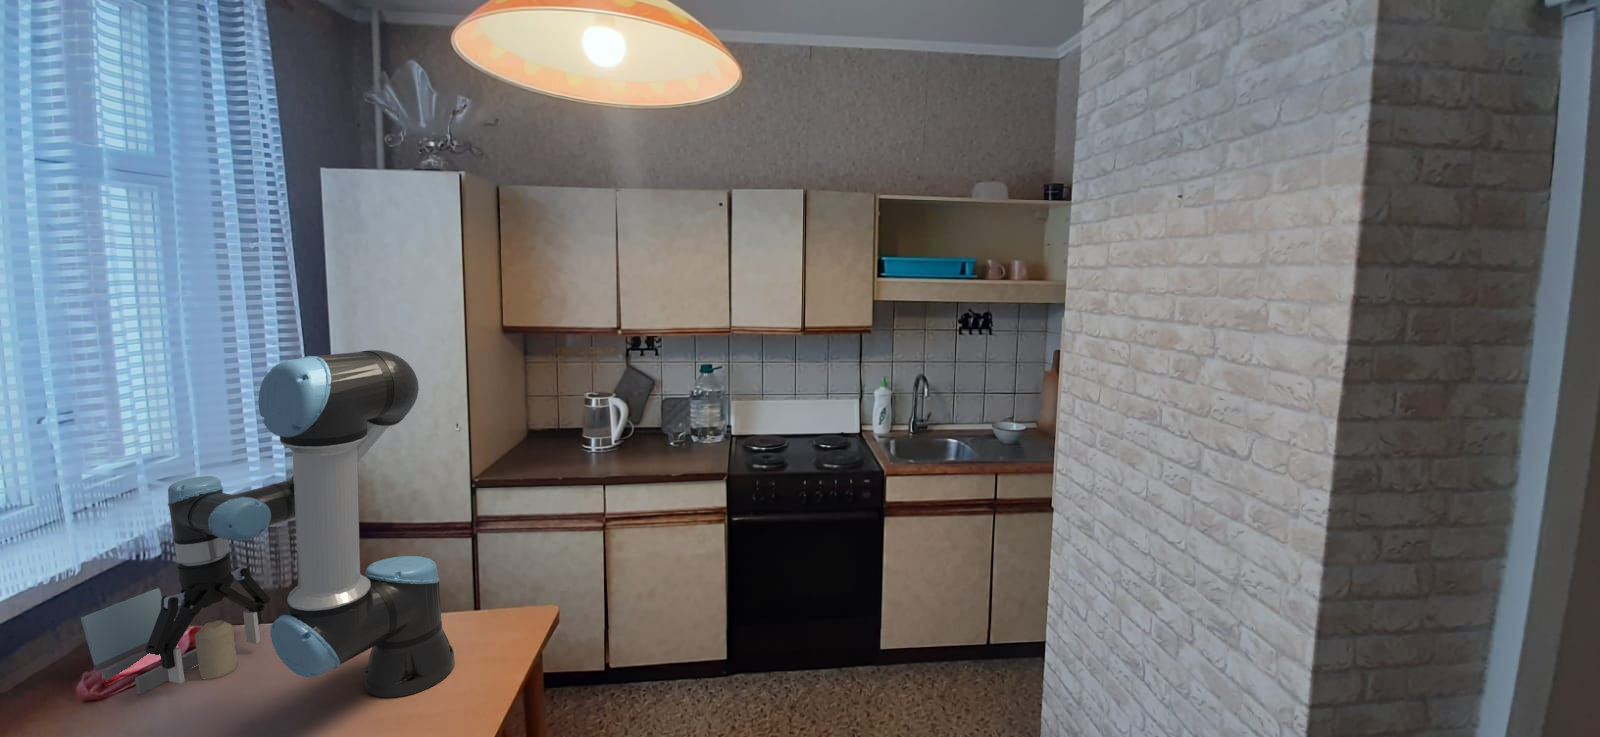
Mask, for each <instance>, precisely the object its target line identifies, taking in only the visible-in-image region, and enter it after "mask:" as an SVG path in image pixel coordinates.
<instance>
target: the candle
mask: <svg viewBox="0 0 1600 737" xmlns="http://www.w3.org/2000/svg"><path fill="white" fill-rule="evenodd" d="M194 640H195V649H197V657H198V664H199V665H198V669H199V670H198V672H199V677H200V676H201V677H200V678H201V679H202V678H205V679H204V680H213V679H212V678H215V679H218V678H217V677H219V678H222V677H224V675H225V676H227V675H229V674H230V673H232V672H234V671H235V670H236V669H237V667H238V658H237V651H236V650H237V649H236V644H235V635H234V627H233V625H232V624H231V623H229V622H227V621H225V620H221V619H220V620H218V619H217V620H215V621H212V622H206V623H205V624H204V625H203V626H202V627H201V628H200V629H199V630H198V631H197V632H196V633H195V635H194ZM221 676H222V677H221Z"/></svg>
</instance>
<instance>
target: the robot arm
mask: <svg viewBox="0 0 1600 737" xmlns="http://www.w3.org/2000/svg"><path fill="white" fill-rule="evenodd" d="M418 395H419V380H418V377H417V374H416V373H415V371H414V369H413V368H412V367H411V365H410V364H409V362H407V361H406V360H405V359H404V358H402V357H401V356H398V355H397V354H394V353H392V352H390V351H389V352H388V351H385V350H377V349H376V350H375V349H371V350H370V349H369V350H362V351H354V352H346V353H345V352H344V353H334V354H325V355H323V354H322V355H313V356H311V355H308V356H307V355H306V356H304V357H301V358H296V359H289V360H285V361H281V362H278V364H275V365H274V366H273V367H272V368H271V369H270V370H269V371H267V373H266V374H265V376H264V378H263V379H262V382H261V384H260V388H259V392H258V410H259V414H260V415H259V416H260V417H262V418H263V421H262V422H263V425H264V427H265V428H266V429H267V430H268V431H269V432H270V433H272V434H273V435H275V436H279V443H280V444H281V445H283V446H284V447H286V448H288V449H289V450H290V451H291V452H292V469H293V472H292V473H293V475H292V476H291V478H289V479H287V480H284V481H280V482H275V483H273V484H269V485H265V486H261V487H259V488H255V489H251V490H247V491H244V492H240V493H235V494H232V493H231V494H230V493H225V492H223V491H224V487H223V486H222V482H221V479H220V478H218V477H217V476H211V475H209V476H208V475H207V476H196V477H190V478H189V477H188V478H186V479H182V480H178V481H176V482H173V483H171V485H169V487H168V490H167V494H168V496H167V500H168V502H167V506H168V509H169V516H170V523H171V528H172V535H173V543H174V550H175V555H176V562H177V563H179V564H178V565H177V574H178V581H179V583H180V584H179V585H180V586H181V590H180V593H176V594H174V595H163V597H162V599H161V611H160V613H159V616H158V618H157V621H156V623H155V626H154V629H153V631H152V634H151V636H150V639H149V642H148V644H147V647H146V649H145V652H146V653H150V654H155V655H159V654H160V656H161V661H160V663H161V665H162V667H163V668H166V669H168V675H169V680H168V681H169V682H170V683H171V682H172V683H175V684H181V683H184V682H186V681H185V680H186V679H185V674H184V673H185V672H183V665H182V658H181V655H182V653H181V648H180V647H179V648H176V646H177V644H178V643H180V641H181V639H182V638H183V636H184V635H185V633H186V631H187V629H188V628H189V626H190V624H191V623H192V621H193V620H194V618H195V617H196V615H198V614H200V612H201V610H202V609H205V608H208V607H210V606H212V605H213V604H215V603H219V602H221V601H223V599H224V598H226V599H227V600H230V601H231V602H233V603H235V604H238V605H239V606H241V607H243V608H245V609H246V610H245V611H243V612H242V614H243V621H244V622H243V624H244V631H245V639H246V643H250V644H255V645H257V644H259V643H261V635H260V634H261V633H260V627H259V626H260V625H261V624H262V611H264V610H265V608H266V607H265V604H269V603H270V602H271V597H270V596H269V595H268V594H267V593H266V592H265V590H263V589H262V587H261V586H260V585H259V584H258V583H257V582H256V580H255V579H254V578H253V577H252V575H251V570H250V569H249V568H248V567H242V566H236V567H235V568H234V569H233V568H232V560H231V558H232V557H231V554H230V553H229V552H230V550H231V549H230V543H229V542H230V540H233V541H248V540H253V539H255V538H256V537H258V536H259V535H261V534H262V533H263V532H265V530H267V528H269V527H270V526H273V525H276V524H280V523H282V522H284V521H289V520H292V519H294V520H295V539H296V540H295V542H296V562H297V563H296V564H297V565H296V566H297V583H298V584H297V586H295V587H294V588H293V589H292V590H291V591H290V592H289V593H288V596H287V600H286V601H287V613H286V614H282V615H279V616H278V617H277V618H276V619H274V621H273V623H271V626H270V640H271V643H272V646H273V648H274V650H275V652H276V654H277V656H278V658H279V659H280V660H281V662H282V663H283V664H284V665H285V666H286V667H287V668H288V669H289V670H290V671H291V672H293V673H294V674H296V675H297V676H300V677H303V678H316V677H319V676H320V675H323V674H325V673H327V672H328V671H330V670H335V669H337V668H339V667H340V666H341V665H343V664H344V663H346V662H347V661H350V660H351V659H354V658H355V657H358V656H359V655H361V654H363V653H365V652H366V651H368V650H369V649H371V651H370V653H369V654H370V655H369V658H368V663H367V667H366V668H365V671H364V676H363V677H364V688H365V690H366V692H367V693H369V694H370V695H371V696H375V697H379V698H399V697H404V696H409V695H412V694H413V695H414V694H416V693H419V692H422V691H424V690H427V689H430V688H431V687H433V686H435V685H437V684H438V683H440V682H442V681H443V680H444V679H446V678H447V677H448V676H449V675H450V674H451V672H452V671H453V669H454V667H455V663H456V660H455V651H454V648H453V647H452V646H451V644H450V640H449V639H448V637H447V634H446V633H445V631H444V629H443V624H442V622H443V621H442V612H441V611H442V609H441V597H440V596H441V594H440V579H441V578H440V577H439V573H438V568H437V567H438V566H437V564H436V562H435V561H434V560H432V558H429V557H424V556H420V555H419V556H417V555H402V556H394V557H388V558H385V559H384V558H383V559H381V560H377V561H375V562H373V563H370V564H369V565H368V566H367V568H366V570H365V573H364V575H363V574H361V561H360V560H361V558H360V555H361V554H360V552H361V551H360V521H359V520H360V519H359V518H360V516H359V480H358V479H359V478H358V477H359V475H358V474H359V473H358V463H359V462H360V461H361V459H362V458H363V457H364V456H365V455H366V454H367V453H368V452H369V450H370V449H371V448H372V447H373V446H374V445H375V443H376V442H377V441H378V440H379V439H380V438H381V436H382V435H383V434H384V433H385V432H386V430H387V429H388V428H389V427H393V426H396V425H398V424H399V423H401V422H402V421H403V420H404V418H405V417H407V415H408V414H409V413H410V411H411V410H412V408H413V407H414V406H415V403H416V401H417V399H418ZM232 569H233V571H232ZM234 581H237V582H238V583H239V585H240V586H241V587H242V588H243V589H244V590H245V591H246V592H247V593H248V595H249V596H251V598H252V599H253V600H252V599H250V598H249V597H247V596H245V595H243V594H241V593H239V591H237V590H235V589H233V588H231V586H232V584H233V582H234ZM182 601H183V603H182ZM179 607H180V608H179ZM191 607H192V608H191ZM178 610H179V611H178ZM178 612H179V613H178Z"/></svg>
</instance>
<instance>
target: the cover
mask: <svg viewBox="0 0 1600 737" xmlns="http://www.w3.org/2000/svg"><path fill="white" fill-rule="evenodd" d="M161 599H162V593H161V589H160V587H156V588H155V589H151V590H149V591H146V592H144V593H141V594H138V595H135V596H133V597H131V598H128V599H125V600H123V601H121V602H118V603H115V604H113V605H110V606H108V607H105V608H103V609H100V610H97V611H95V612H92V613H90V614H87V615H84V616H82V617H80V621H81V624H82V627H83V631H84V634H85V638H86V642H87V646H88V649H89V652H90V656H91V660H92V664H93V667H94V671H95V672H98V671H99V672H100V670H103V669H105V668H107V667H109V666H111V665H114V664H116V663H118V662H120V661H122V660H125V659H127V658H129V657H131V656H133V655H135V654H138V653H140V652H142V651H144V650H145V649H146V647H147V644H148V642H149V639H150V636H151V634H152V631H153V629H154V626H155V623H156V621H157V618H158V616H159V613H160V611H161Z"/></svg>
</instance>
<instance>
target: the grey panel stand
mask: <svg viewBox="0 0 1600 737" xmlns="http://www.w3.org/2000/svg"><path fill="white" fill-rule="evenodd" d="M147 654H149V653H146V652H145V650H143V651H141V652H139V653H137V654H134V655H132V656H130V657H128V658H126V659H124V660H121V661H119V662H117V663H115V664H113V665H110V666H108V667H106V668H104V669H102V670H99V673H100V675H101V674H102V675H103V677H104V679H105V681H106V682H108V681H107V680H110V678H111V677H112V676H114V675H116V674H119V673H120V672H122V671H123V670H125V669H127V668H128V667H130V666H131V665H133V664H134V663H136V662H137V661H139V660H140V659H141V658H143V657H144V656H146V655H147ZM181 658H182V665H183V672H184V673H186V672H188V671H190V670H192V669H193V668H192V667H194V666H196V665H198V657H197V649H196V648H194V649H192V650H190V651H188V652H186V653H184V654H181ZM198 666H199V665H198ZM196 667H197V666H196ZM191 668H192V669H191ZM194 668H195V667H194ZM189 669H190V670H189ZM187 670H188V671H187ZM185 671H186V672H185ZM134 681H135V689H136V694H138V695H143V694H145V693H146V692H148V691H150V690H153V689H154V688H156V687H158V686H160V685H162V684H165V683H167V681H169V675H168V669H166V668H163V667H162V664H161V665H159V666H157V667H155V668H153V669H150V670H149V671H147V672H144V673H143V674H141V675H138V676H136V677H134Z"/></svg>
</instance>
